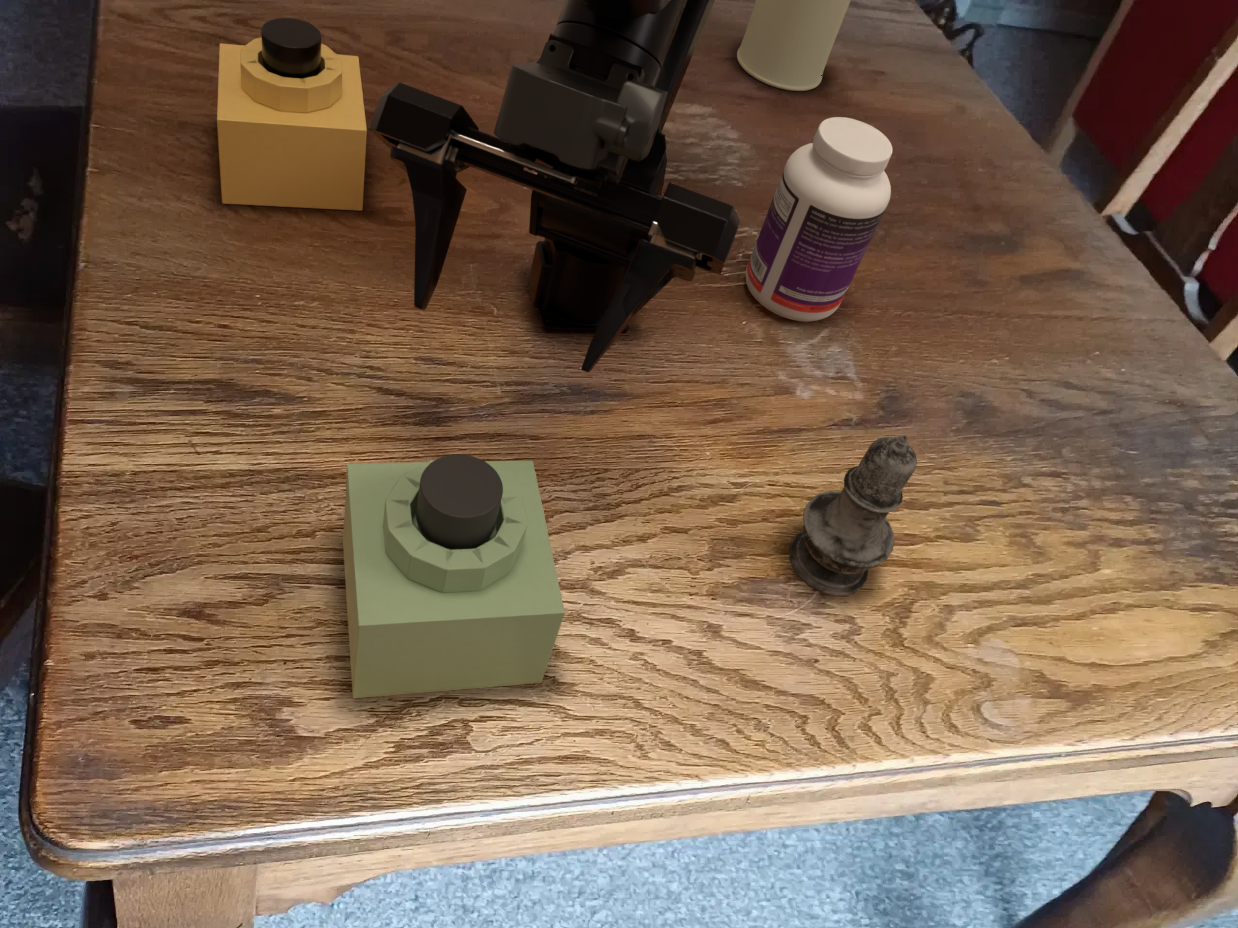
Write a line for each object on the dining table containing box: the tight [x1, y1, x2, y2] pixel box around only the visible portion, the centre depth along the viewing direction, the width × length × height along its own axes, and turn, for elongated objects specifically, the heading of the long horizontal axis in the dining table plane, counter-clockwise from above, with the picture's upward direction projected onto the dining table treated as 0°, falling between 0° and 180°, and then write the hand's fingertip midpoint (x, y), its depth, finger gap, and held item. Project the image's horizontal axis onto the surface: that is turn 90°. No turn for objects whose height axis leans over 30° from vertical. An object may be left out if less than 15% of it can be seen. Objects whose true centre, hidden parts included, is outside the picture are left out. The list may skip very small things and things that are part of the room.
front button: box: [416, 453, 503, 549], centre depth 53 cm, size 4×4×2 cm
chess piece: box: [788, 435, 918, 597], centre depth 64 cm, size 6×6×12 cm
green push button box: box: [342, 459, 566, 699], centre depth 57 cm, size 10×10×9 cm
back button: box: [260, 17, 322, 79], centre depth 76 cm, size 4×4×3 cm
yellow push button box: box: [216, 36, 368, 212], centre depth 80 cm, size 10×10×9 cm
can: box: [736, 0, 852, 92], centre depth 108 cm, size 9×9×12 cm
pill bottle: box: [745, 116, 893, 323], centre depth 81 cm, size 8×8×14 cm
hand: (501, 340), depth 56 cm, fingers open, 9 cm apart
